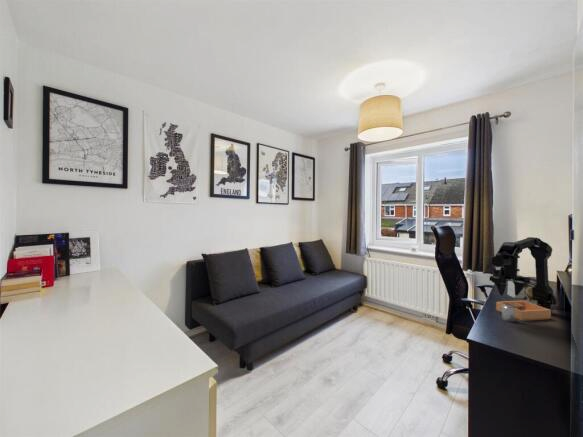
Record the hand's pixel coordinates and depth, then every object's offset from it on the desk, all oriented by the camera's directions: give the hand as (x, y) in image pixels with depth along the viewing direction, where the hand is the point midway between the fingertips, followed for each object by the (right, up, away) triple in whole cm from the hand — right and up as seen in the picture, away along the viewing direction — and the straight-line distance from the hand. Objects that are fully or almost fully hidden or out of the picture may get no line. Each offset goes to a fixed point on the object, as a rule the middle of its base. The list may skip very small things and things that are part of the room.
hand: (508, 295), depth 130 cm
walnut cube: (+10, -12, +6) cm, 17 cm away
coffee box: (+38, -13, +23) cm, 46 cm away
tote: (+14, -13, +7) cm, 20 cm away
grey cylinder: (-1, -13, 0) cm, 13 cm away
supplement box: (+38, -13, +36) cm, 54 cm away
